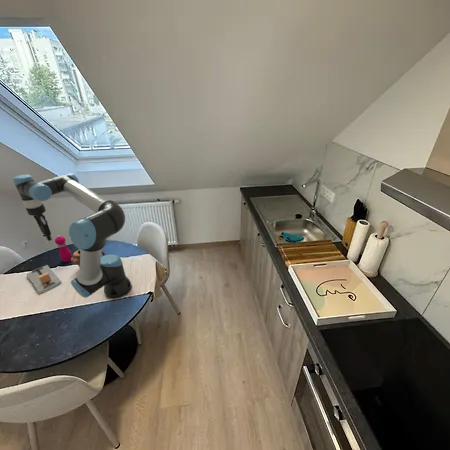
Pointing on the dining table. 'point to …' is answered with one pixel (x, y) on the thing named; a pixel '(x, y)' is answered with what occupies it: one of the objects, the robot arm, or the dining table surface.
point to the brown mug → (77, 257)
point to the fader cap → (44, 278)
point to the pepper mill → (63, 249)
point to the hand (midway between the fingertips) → (51, 244)
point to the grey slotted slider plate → (36, 282)
